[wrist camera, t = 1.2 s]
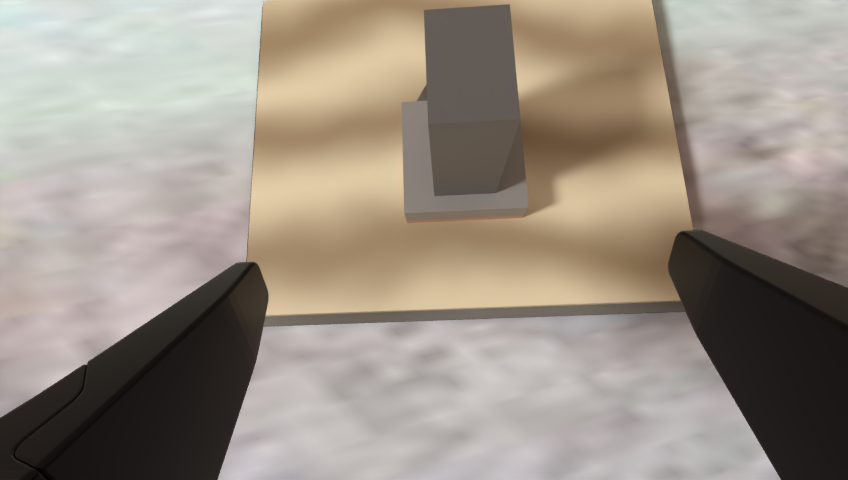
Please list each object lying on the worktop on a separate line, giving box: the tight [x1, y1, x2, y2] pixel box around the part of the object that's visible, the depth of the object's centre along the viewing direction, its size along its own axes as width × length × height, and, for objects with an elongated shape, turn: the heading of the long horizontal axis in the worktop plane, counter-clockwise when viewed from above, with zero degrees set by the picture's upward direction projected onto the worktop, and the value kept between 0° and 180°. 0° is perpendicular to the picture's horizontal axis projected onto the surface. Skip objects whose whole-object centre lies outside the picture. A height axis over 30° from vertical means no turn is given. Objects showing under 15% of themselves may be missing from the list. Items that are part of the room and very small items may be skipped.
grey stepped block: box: [402, 4, 529, 223], centre depth 19 cm, size 6×6×9 cm
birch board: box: [246, 0, 693, 327], centre depth 24 cm, size 20×24×2 cm
